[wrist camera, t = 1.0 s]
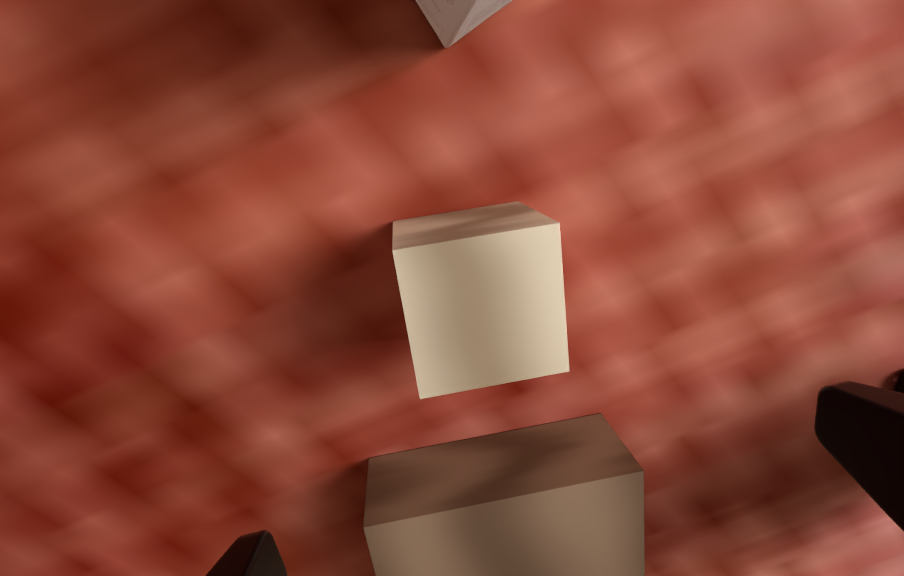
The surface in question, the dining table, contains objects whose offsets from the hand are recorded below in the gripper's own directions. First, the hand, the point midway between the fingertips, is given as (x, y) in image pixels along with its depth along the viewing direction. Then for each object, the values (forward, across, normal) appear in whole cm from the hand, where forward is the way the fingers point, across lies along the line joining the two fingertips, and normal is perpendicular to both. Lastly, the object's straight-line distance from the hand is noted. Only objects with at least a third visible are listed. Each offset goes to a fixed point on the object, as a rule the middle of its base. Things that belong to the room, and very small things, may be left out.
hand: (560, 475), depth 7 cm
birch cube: (+12, -1, 0) cm, 12 cm away
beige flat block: (+12, 0, +14) cm, 18 cm away
